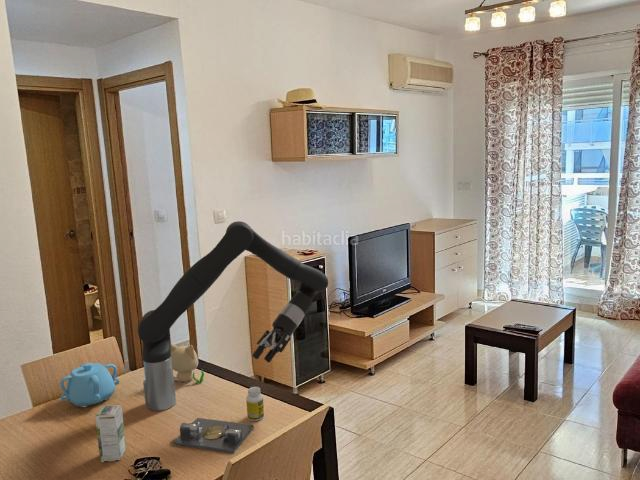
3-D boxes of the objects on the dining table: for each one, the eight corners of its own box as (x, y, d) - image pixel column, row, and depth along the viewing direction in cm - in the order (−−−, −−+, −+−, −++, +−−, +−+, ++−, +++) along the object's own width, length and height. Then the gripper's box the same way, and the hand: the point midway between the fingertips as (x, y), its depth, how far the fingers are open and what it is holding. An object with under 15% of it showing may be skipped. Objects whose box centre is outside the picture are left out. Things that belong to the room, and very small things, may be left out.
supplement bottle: (261, 422, 163) (259, 393, 161) (245, 421, 164) (243, 392, 162) (266, 413, 168) (264, 385, 167) (250, 412, 169) (248, 385, 168)
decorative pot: (97, 412, 175) (92, 375, 172) (57, 409, 178) (51, 372, 176) (125, 390, 190) (121, 356, 188) (87, 387, 194) (83, 354, 192)
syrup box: (106, 451, 151) (100, 405, 149) (127, 449, 152) (121, 404, 149) (100, 462, 146) (93, 415, 143) (121, 460, 146) (115, 413, 144)
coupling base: (173, 444, 153) (171, 430, 152) (197, 420, 166) (196, 407, 165) (233, 453, 147) (232, 438, 146) (254, 427, 160) (253, 414, 159)
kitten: (210, 376, 199) (207, 339, 196) (197, 387, 189) (193, 349, 187) (177, 372, 203) (173, 337, 201) (162, 384, 194) (158, 346, 191)
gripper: (271, 311, 178) (243, 350, 171) (292, 313, 166) (262, 354, 159) (285, 325, 180) (258, 363, 173) (307, 328, 169) (278, 369, 162)
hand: (260, 359), depth 166 cm, fingers open, 8 cm apart
